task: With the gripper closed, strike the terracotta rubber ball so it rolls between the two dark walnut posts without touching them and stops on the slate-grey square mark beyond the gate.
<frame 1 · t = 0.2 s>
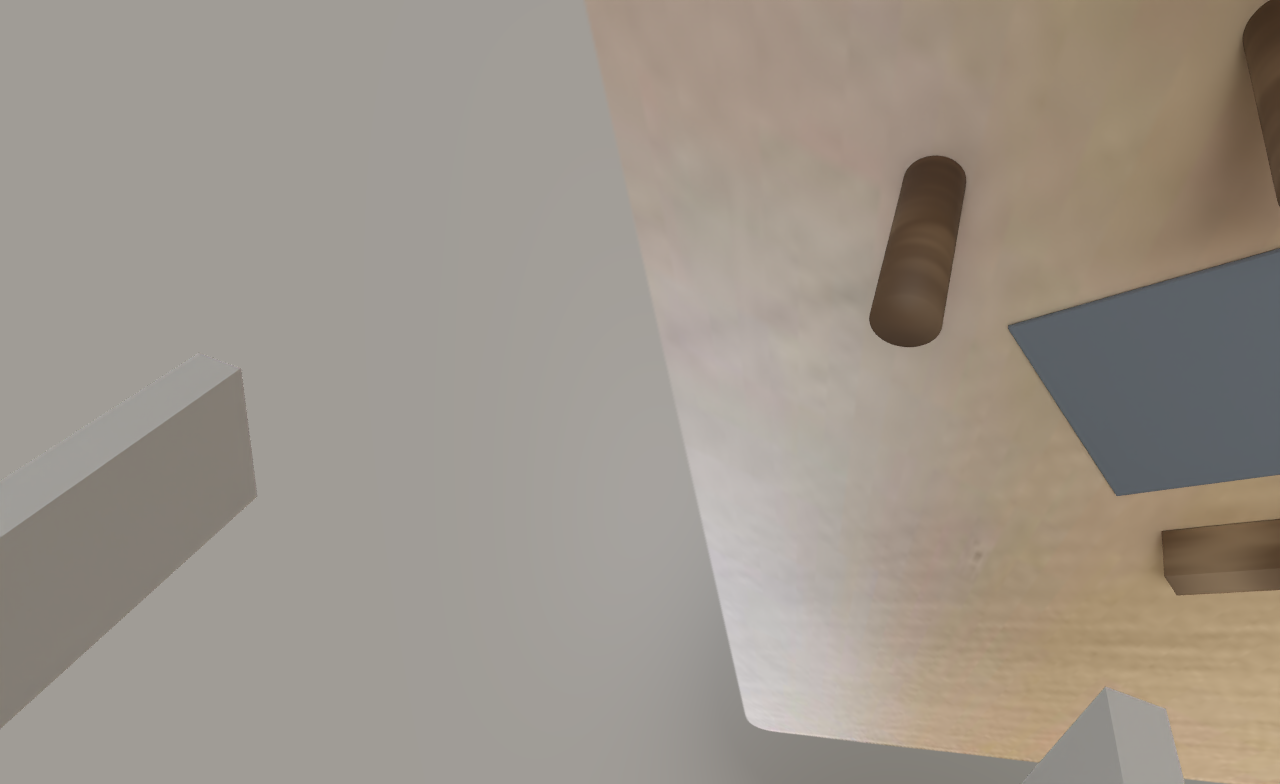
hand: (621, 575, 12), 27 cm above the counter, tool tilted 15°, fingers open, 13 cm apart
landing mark: (1223, 383, 38), on the counter
outer post: (934, 181, 36), on the counter
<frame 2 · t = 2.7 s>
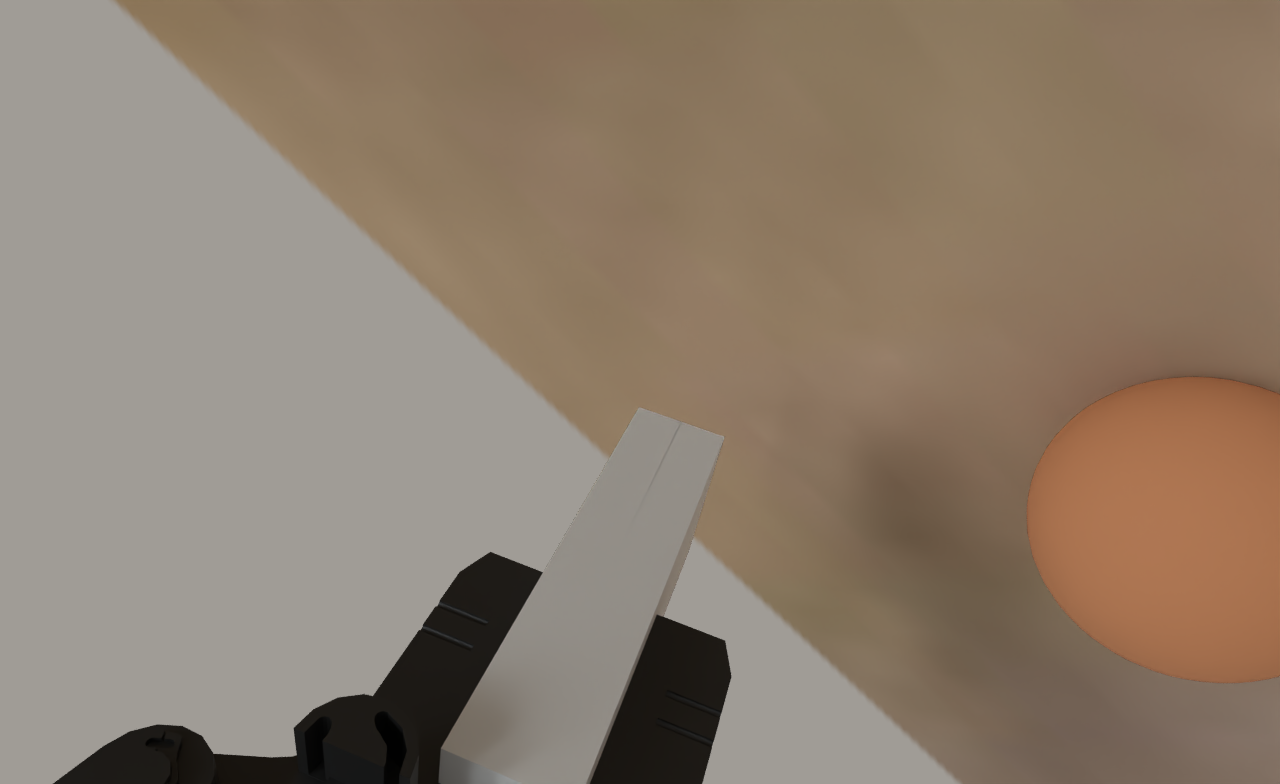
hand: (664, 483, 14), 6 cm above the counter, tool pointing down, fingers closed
ball: (1190, 525, 15), on the counter
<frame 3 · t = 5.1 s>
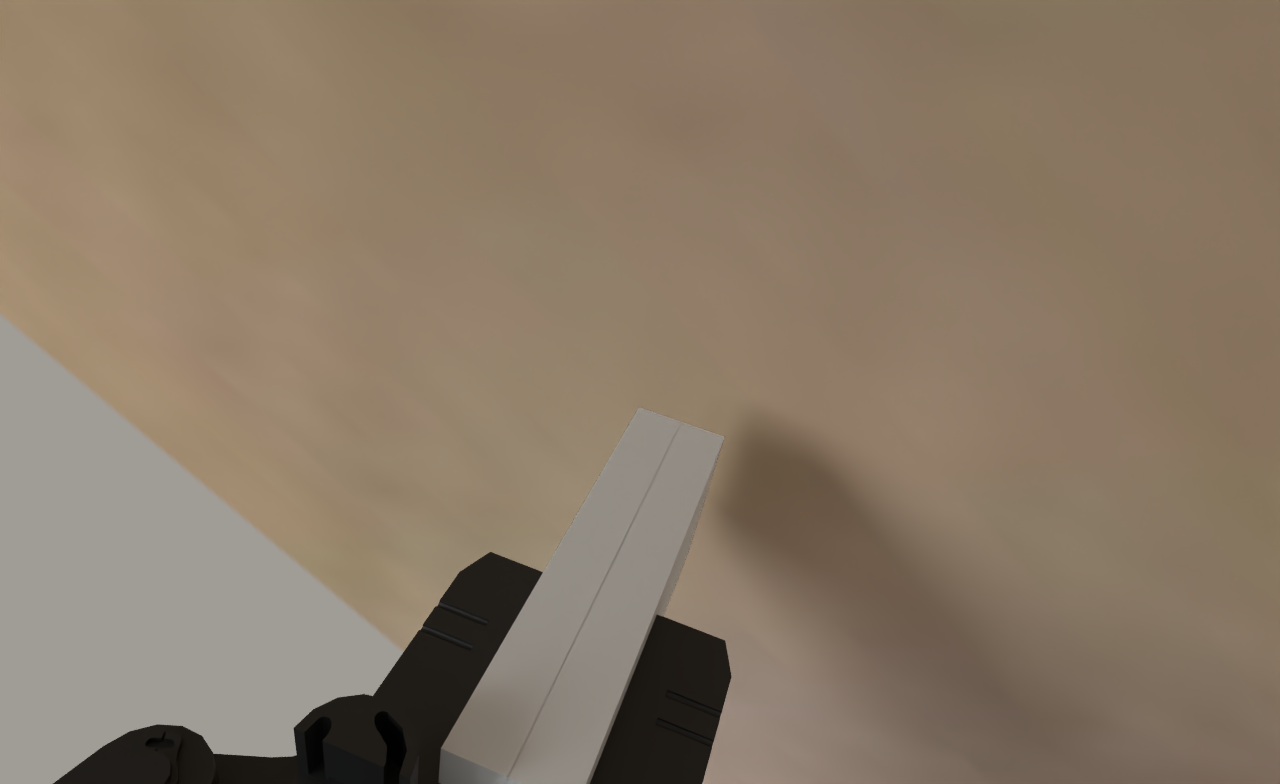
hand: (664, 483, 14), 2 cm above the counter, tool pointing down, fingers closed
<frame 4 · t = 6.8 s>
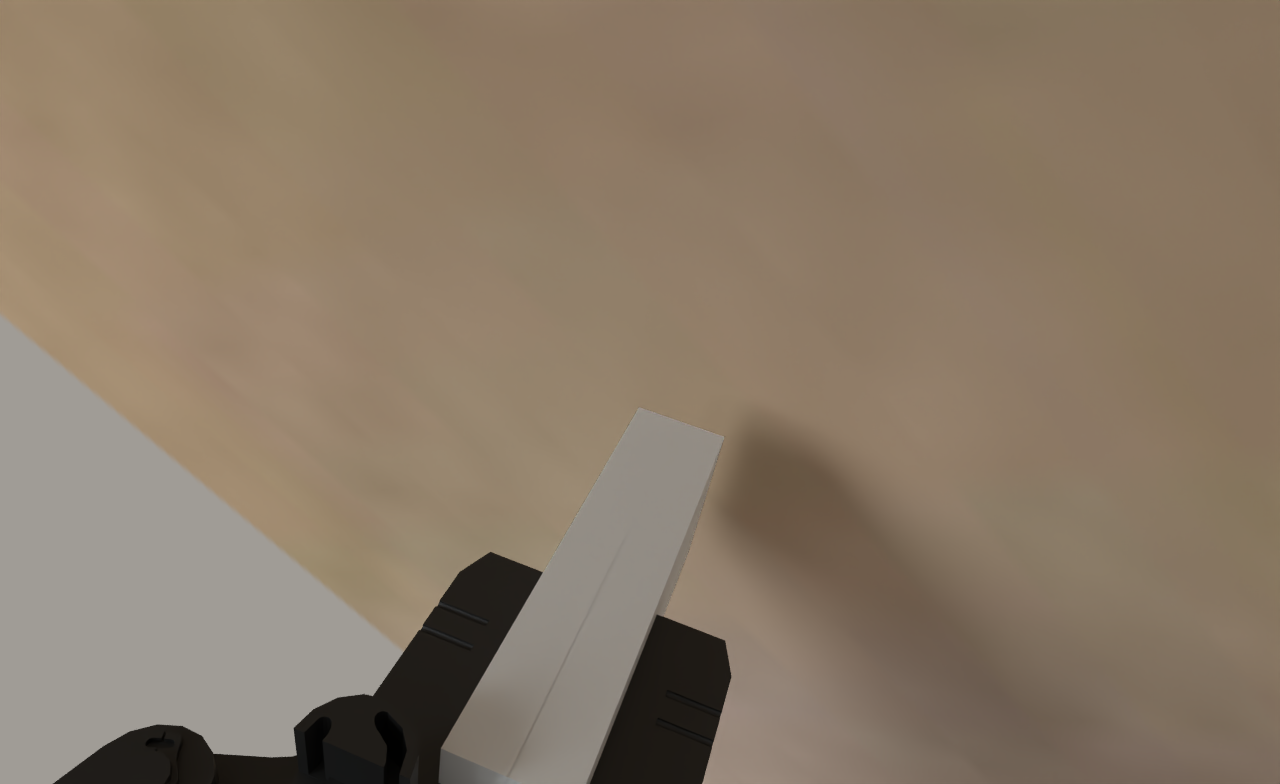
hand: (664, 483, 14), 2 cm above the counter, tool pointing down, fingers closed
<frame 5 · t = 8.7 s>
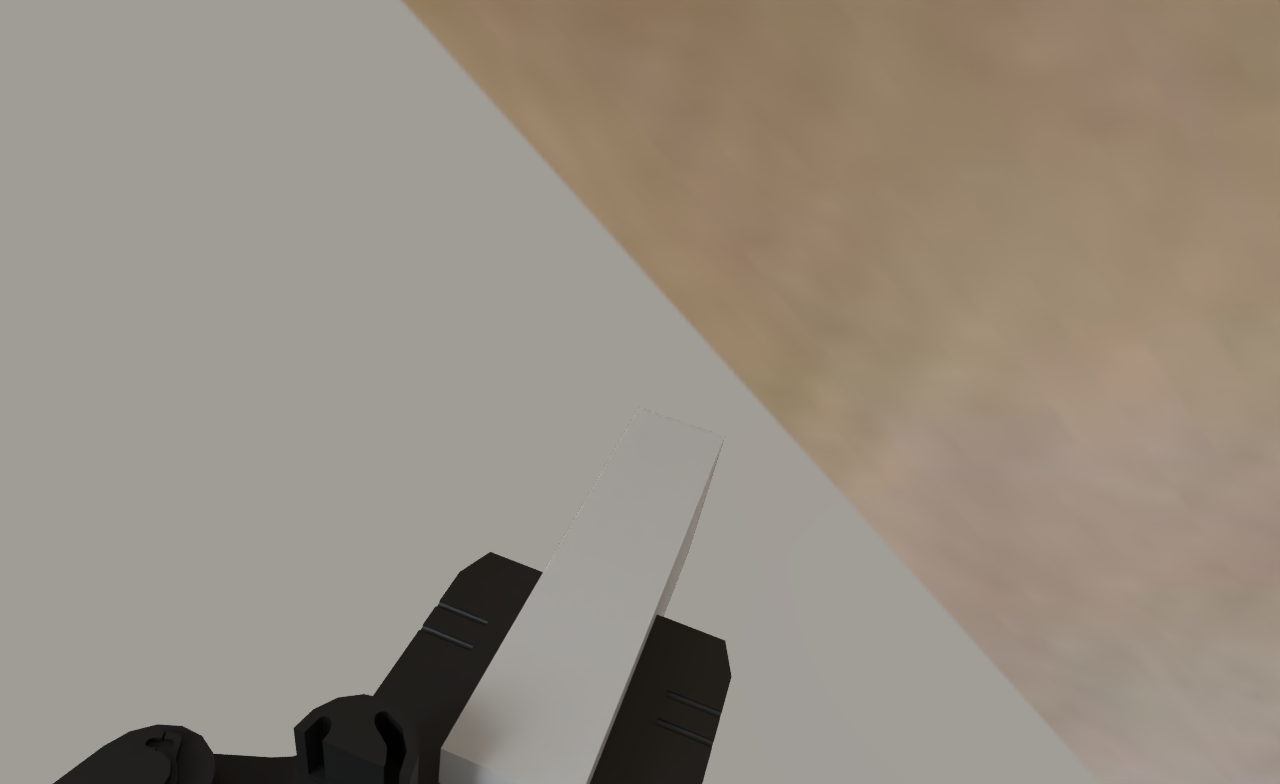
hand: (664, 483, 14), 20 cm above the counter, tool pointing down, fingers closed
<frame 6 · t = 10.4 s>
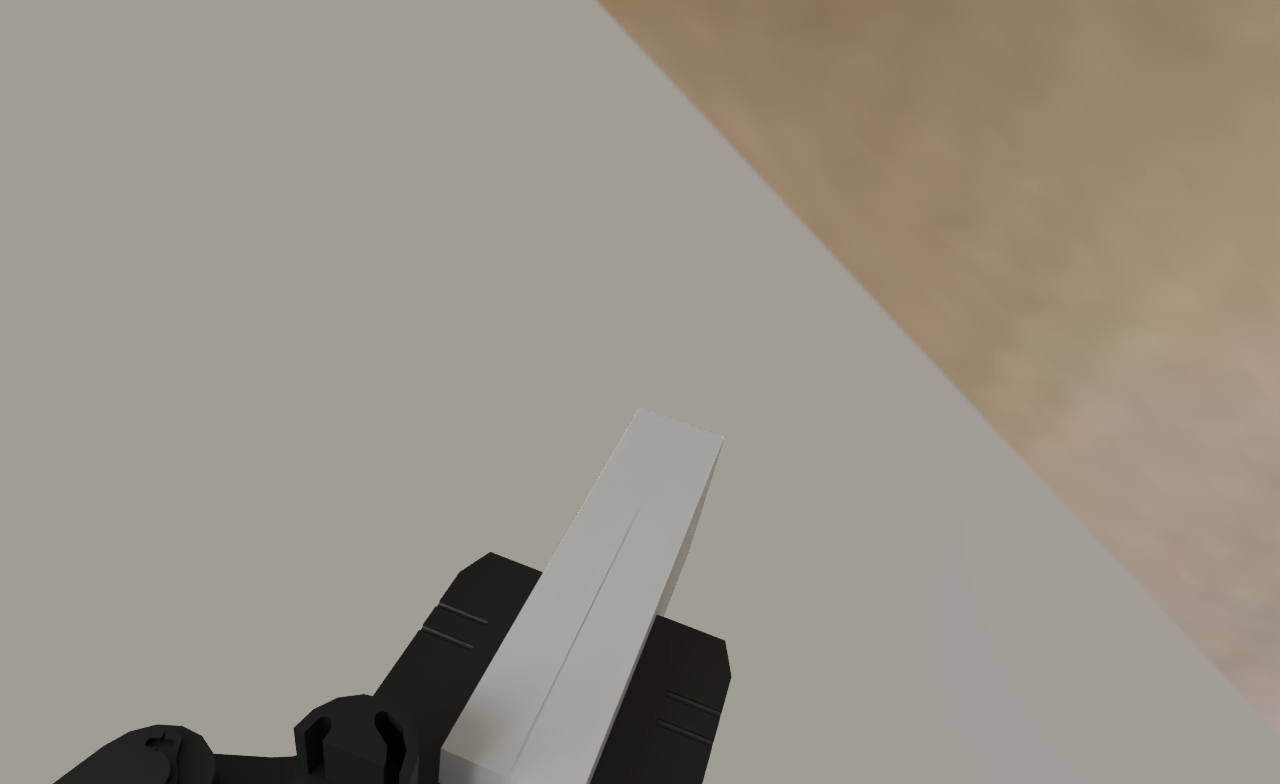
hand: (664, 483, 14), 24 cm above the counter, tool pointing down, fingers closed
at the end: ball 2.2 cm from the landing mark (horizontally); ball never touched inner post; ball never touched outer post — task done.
